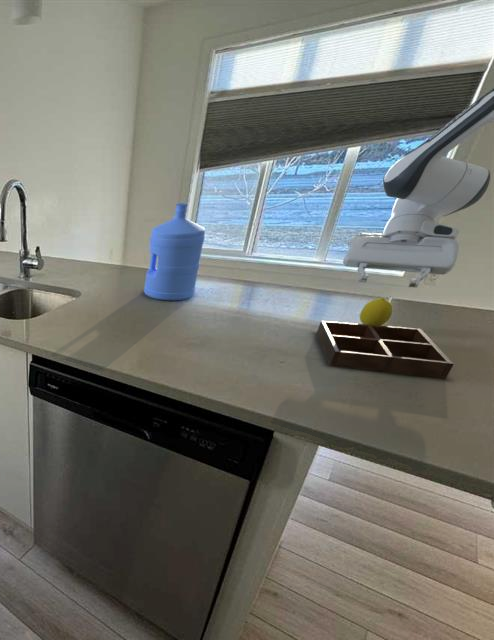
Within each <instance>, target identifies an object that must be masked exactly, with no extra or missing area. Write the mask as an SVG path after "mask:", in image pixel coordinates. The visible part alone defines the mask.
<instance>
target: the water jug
mask: <svg viewBox="0 0 494 640" xmlns="http://www.w3.org/2000/svg"><path fill="white" fill-rule="evenodd" d="M188 206H189V203H186V202H185V203H181V202H180V203H176V207H175V210H174V213H175V214H174V217H173V218H172V219H169V220H167V221H165V222H163V223H162V224H159V225H157V226H154V227H153V228H152V229H151V232H150V233H151V234H150V237H149V238H150V239H149V249H148V250H149V253H150V261H149V268H148V270H147V271H146V273H145V283H144V287H143V293H144V294H145V295H146V296H147V297H149V298H151V299H155V300H159V301H171V302H172V301H182V300H186V299H189V298H191V297H193V296H194V294H195V293H196V284H197V283H196V282H197V277H198V272H199V270H200V264H201V256H202V251H203V246H204V242H205V238H206V228H205V227H204V226H202V225H199V224H198V223H196V222H194V221H192V220H190V219H188V218H187V211H188V210H187V209H188Z"/></svg>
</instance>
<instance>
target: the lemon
mask: <svg viewBox="0 0 494 640" xmlns="http://www.w3.org/2000/svg"><path fill="white" fill-rule="evenodd" d="M392 314H393V306H392V304H391V302H390V301H388V300H387V299H385V298H384V297H379V298H374V299H372V300H370V301H368V302H367V303H366V304H365V305H364V306H363V307H362V309H361V311H360V313H359V320H360V322H361V324H369V325H381V326H384V325H385V324H386V323H387V322H388V321H389V320H390V318H391V316H392Z"/></svg>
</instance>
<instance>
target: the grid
mask: <svg viewBox="0 0 494 640" xmlns="http://www.w3.org/2000/svg"><path fill="white" fill-rule="evenodd" d="M315 334H316V336H317V338H318V340H319V343H320V346H321V349H322V350H323V352H324V353H323V354H324V355H325V357H326V360H327V363H328V365H329V366H331V367H338V368H339V367H340V368H347V369H355V370H363V371H364V370H365V371H371V372H381V373H389V374H397V375H407V376H412V377H413V376H415V377H422V378H432V379H441V380H446V379H447V377H448V376H449V374H450V372H451V370H452V368H453V366H454V364H455V363H454V362H453V361H452V360H451V359H450V358H449V357H448V356H447V355H446V353H444V352H443V351H442V349H440V348H439V346H438V345H437V344H436V343H435V342H434V341H433V340H432V339H431V338H430V337H429V335H427V333H425V331H424V330H423V329H422V328H419V327H418V328H416V327H407V326H406V327H405V326H392V325H369V324H363V323H354V322H345V321H330V320H320V322H319V325H318V329H317V331H316V333H315Z"/></svg>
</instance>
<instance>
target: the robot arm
mask: <svg viewBox="0 0 494 640" xmlns="http://www.w3.org/2000/svg"><path fill="white" fill-rule="evenodd" d="M491 123H494V87H493V88H491V89H489V91H487V92H486V93H485V94H483V95H482V96H481V97H479V98H478V99H477V100H475V101H474V102H472V103H471V104H470V105H469V106H467V107H466V108H465V109H464V110H462V111H461V112H460V113H459V114H458V115H456V116H455V117H454V118H453V119H452V120H450V121H449V122H448V123H446V124H445V125H444V126H442V127H441V128H440V129H439V130H438V131H436V132H435V133H433V135H431V136H430V137H428V138H427V139H426V140H425V141H424V142H422V143H421V144H420V145H418V146H417V147H415V148H414V149H411V150H410V151H409V152H408V153H406V154H405V155H403V156H402V157H400V158H399V159H398V160H396V162H394V163H393V164H392V165H391V166H390V167H389V169H388V170H387V171H386V173H384V176H383V178H382V187H383V191H384V193H385V195H386V196H387V197H389V198H394V199H396V200H395V201H394V205H393V207H392V210H391V217H390V219H389V220H388V221H387V222H386V225H385V226H384V229H383V232H382V233H366V232H361V233H359V234H355V235H353V236H351V238H349V241H348V247H349V248H348V249H347V251H346V253H345V256H344V258H343V261H342V263H343V265H344V266H345V267H348V268H349V267H350V268H357V270H356V271H357V273H358V275H359V279H358V283H367V281H368V278H369V275H370V273H368V272H366V269H372V270H384V271H385V270H386V271H396V272H408V273H417V274H419V276H418V277H411V280H410V281H409V284H408V287H409V288H415V289H416V288H418V286H419V284H420V282H422V281H423V280H424V279H426V278H427V277H428V276H429V274H430V275H432V274H433V275H447V274H448V273H450V272H451V271H452V270H453V269H454V267H455V265H456V263H457V259H458V255H459V248H460V247H459V246H460V245H459V242H458V241H457V238H458V236H459V232H460V230H459V229H458V228H456V227H453V226H448V225H444V224H442V223H437V222H436V221H437V219H438V218H440V217H446V216H449V215H452V214H455V213H457V212H460V211H462V210H466V209H468V208H469V207H471V206H473V205H474V204H476V203H477V202H478V201H479V200H480V199H482V197H483V196H484V194H485V193H486V192H487V190H488V188H489V185H490V182H491V171H490V170H489V169H488V168H485V167H484V166H479V165H476V164H473V163H469V162H466V161H460V160H457V159H454V158H451V157H447V156H445V155H447V154H448V153H449V152H451V151H452V150H453V149H455V148H456V147H457V146H459V145H460V144H461V143H463V142H464V141H465V140H467V139H469V138H470V137H471V136H472V135H473V134H475V133H476V132H478V131H479V130H480V129H482V128H483V127H485V126H487V125H488V124H491Z"/></svg>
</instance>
